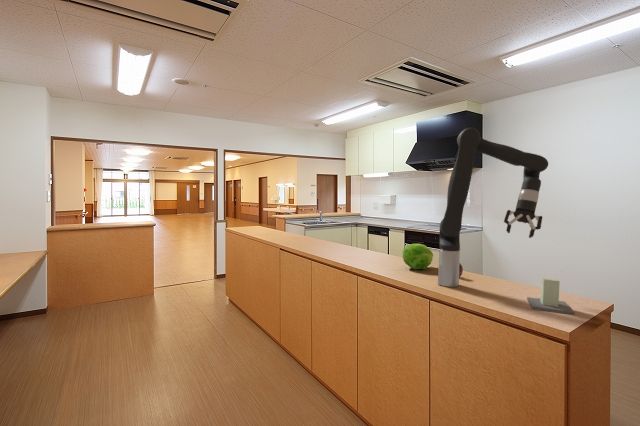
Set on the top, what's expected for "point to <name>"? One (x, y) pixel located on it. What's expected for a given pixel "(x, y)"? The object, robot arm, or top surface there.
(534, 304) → the charcoal mat
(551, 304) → the sage block
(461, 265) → the tin
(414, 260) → the lettuce
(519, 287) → the top surface
